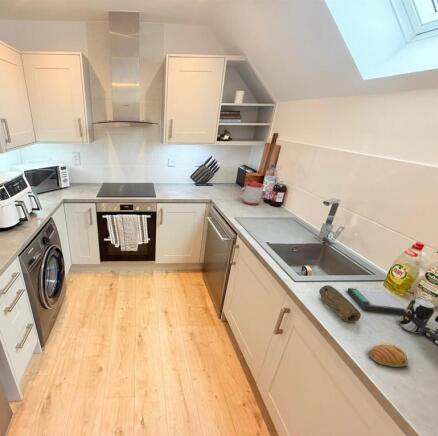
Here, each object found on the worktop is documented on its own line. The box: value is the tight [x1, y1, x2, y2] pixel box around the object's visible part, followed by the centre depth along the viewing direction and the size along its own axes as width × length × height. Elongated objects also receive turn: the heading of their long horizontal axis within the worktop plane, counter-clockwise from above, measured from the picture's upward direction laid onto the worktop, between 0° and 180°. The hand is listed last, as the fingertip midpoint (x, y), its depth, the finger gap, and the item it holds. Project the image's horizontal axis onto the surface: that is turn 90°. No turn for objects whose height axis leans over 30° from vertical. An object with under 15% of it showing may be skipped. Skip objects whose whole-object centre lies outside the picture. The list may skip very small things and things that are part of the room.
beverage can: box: [398, 297, 436, 334], centre depth 83 cm, size 6×6×12 cm
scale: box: [346, 287, 406, 316], centre depth 97 cm, size 14×11×3 cm
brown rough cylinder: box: [318, 284, 362, 323], centre depth 93 cm, size 15×7×7 cm, turn 5°
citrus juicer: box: [241, 180, 265, 206], centre depth 204 cm, size 16×17×20 cm
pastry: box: [368, 344, 410, 368], centre depth 74 cm, size 9×7×4 cm
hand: (424, 318), depth 81 cm, fingers open, 8 cm apart
